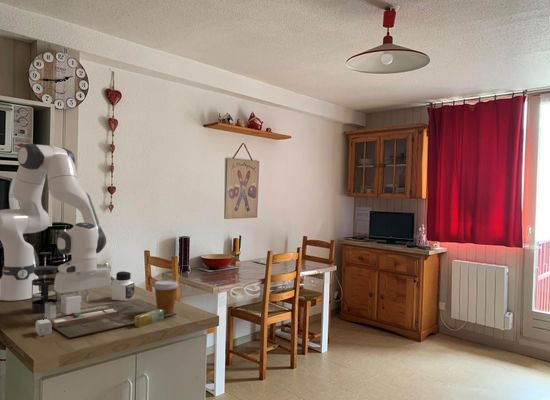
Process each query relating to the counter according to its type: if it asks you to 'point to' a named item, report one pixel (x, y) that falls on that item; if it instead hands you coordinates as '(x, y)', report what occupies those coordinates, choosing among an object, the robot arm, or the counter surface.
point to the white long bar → (51, 313)
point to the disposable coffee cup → (165, 294)
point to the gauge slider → (71, 304)
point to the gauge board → (84, 316)
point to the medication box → (149, 317)
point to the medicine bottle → (123, 287)
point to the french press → (43, 287)
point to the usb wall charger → (43, 327)
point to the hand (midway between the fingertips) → (83, 301)
